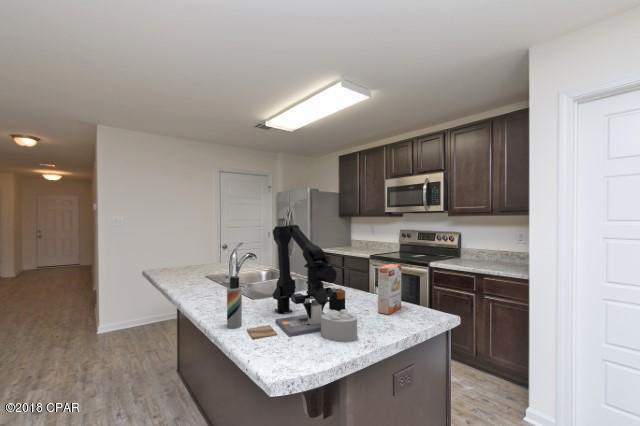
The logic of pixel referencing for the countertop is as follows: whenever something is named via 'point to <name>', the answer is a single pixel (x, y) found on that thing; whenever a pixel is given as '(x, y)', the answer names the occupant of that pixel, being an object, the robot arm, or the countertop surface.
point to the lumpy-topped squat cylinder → (339, 326)
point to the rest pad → (261, 332)
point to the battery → (338, 300)
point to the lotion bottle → (234, 303)
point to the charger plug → (315, 313)
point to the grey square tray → (297, 325)
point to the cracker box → (389, 288)
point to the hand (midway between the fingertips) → (314, 317)
